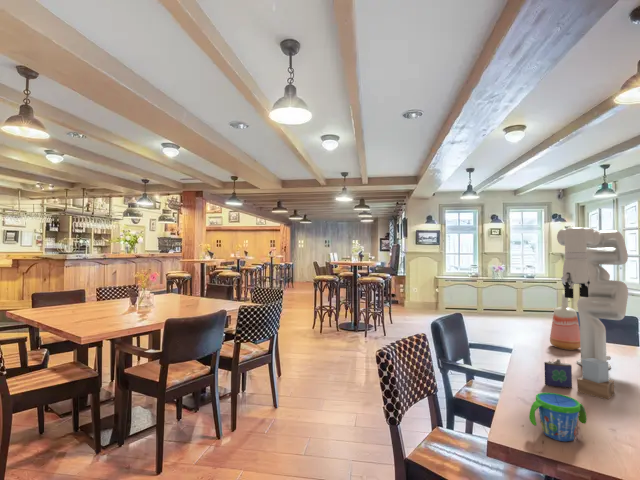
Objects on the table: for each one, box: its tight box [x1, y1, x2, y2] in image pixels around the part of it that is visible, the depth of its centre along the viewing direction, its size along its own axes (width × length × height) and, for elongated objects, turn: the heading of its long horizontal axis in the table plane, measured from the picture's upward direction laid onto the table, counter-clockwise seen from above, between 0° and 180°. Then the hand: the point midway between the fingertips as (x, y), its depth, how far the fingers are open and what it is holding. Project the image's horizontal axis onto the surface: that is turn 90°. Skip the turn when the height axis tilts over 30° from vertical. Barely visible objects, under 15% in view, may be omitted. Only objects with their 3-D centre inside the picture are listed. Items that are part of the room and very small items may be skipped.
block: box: [576, 375, 616, 400], centre depth 133 cm, size 9×9×5 cm
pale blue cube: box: [581, 358, 610, 383], centre depth 133 cm, size 6×6×7 cm
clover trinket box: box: [543, 358, 573, 389], centre depth 139 cm, size 9×3×11 cm, turn 74°
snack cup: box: [528, 392, 588, 442], centre depth 101 cm, size 16×10×10 cm
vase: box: [549, 293, 581, 351], centre depth 196 cm, size 14×14×30 cm
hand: (576, 297), depth 150 cm, fingers open, 9 cm apart
